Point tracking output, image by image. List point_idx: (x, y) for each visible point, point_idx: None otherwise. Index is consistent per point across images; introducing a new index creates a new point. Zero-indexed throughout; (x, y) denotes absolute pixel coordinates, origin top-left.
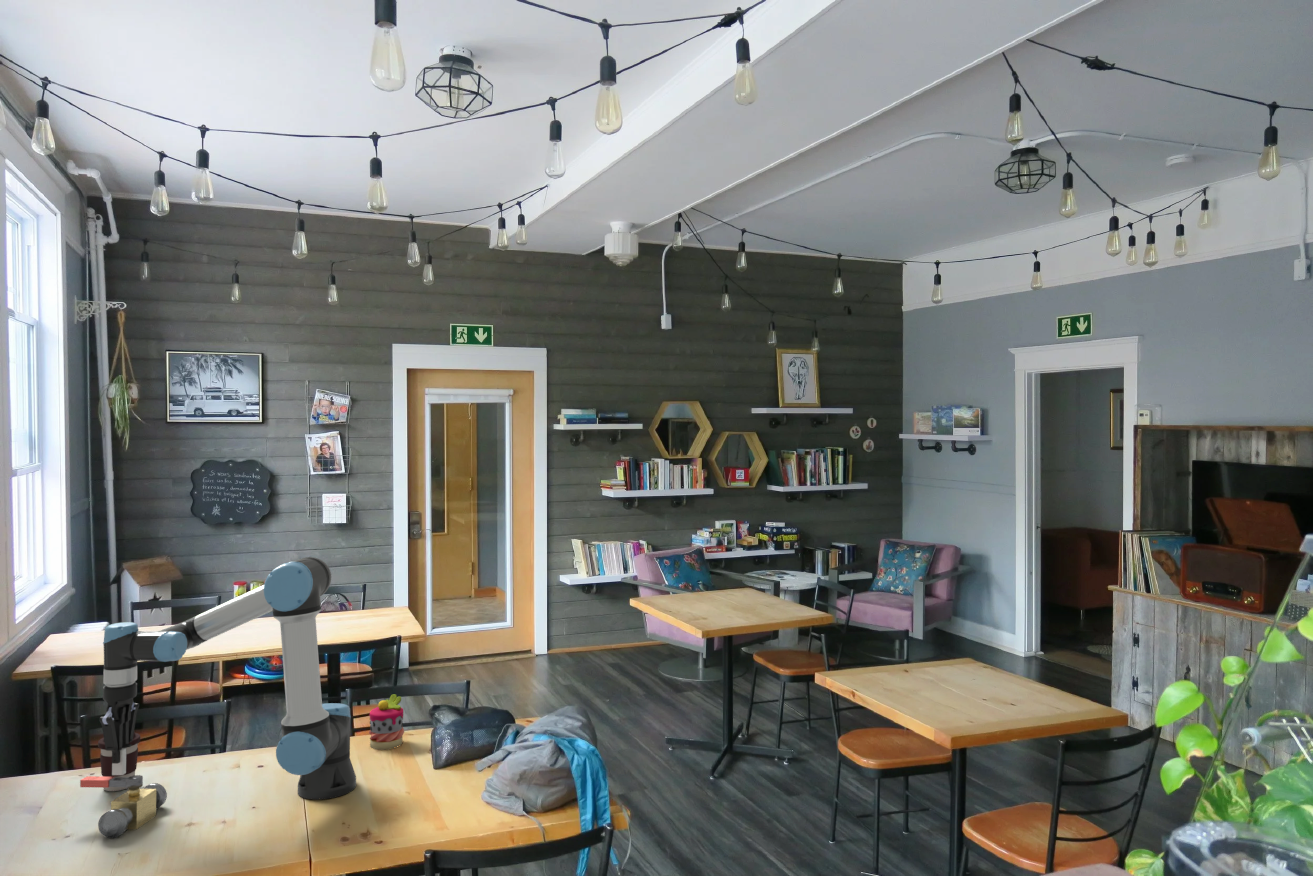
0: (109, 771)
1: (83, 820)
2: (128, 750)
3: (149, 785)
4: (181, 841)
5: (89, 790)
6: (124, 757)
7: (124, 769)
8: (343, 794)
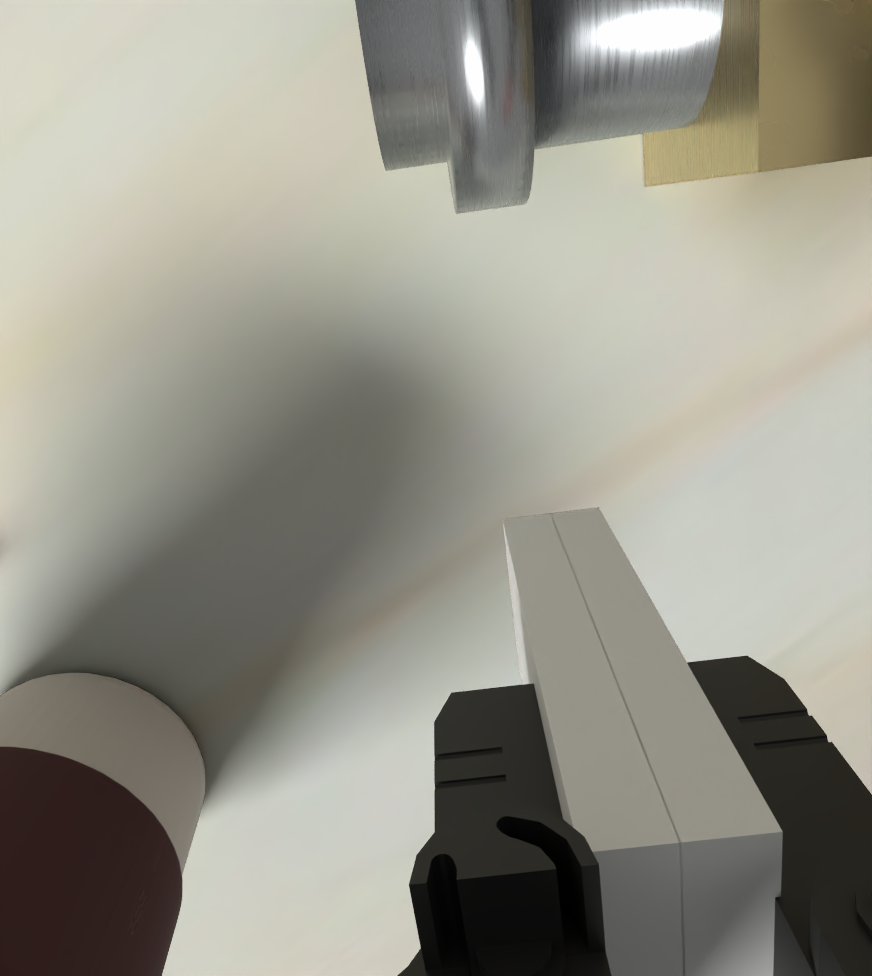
0: (162, 905)
1: (766, 549)
2: None
3: (531, 20)
4: None
5: (219, 906)
6: (606, 675)
7: (554, 545)
8: None
